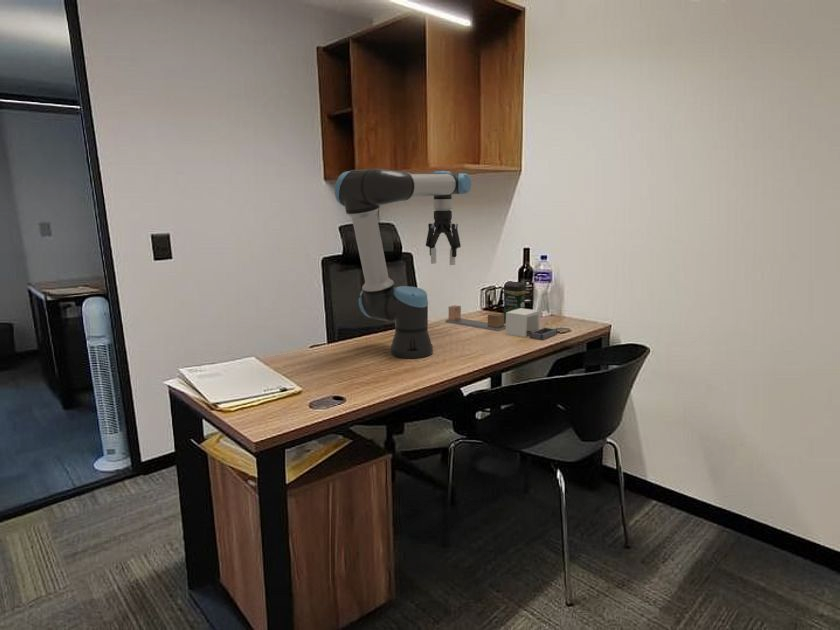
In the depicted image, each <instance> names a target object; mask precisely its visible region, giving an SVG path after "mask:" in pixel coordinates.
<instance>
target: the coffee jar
mask: <svg viewBox="0 0 840 630" xmlns="http://www.w3.org/2000/svg"><path fill="white" fill-rule="evenodd" d="M526 293H527V286H526V283H524V282H518V281H506V282H504V285H503V294H504V302H503V303H504V305H503V306H504V307H503V313H502V314H504V324H506V312H509V311H512V310H516V309H519V308H523V309H526V306H525V301H526V299H525V298H526Z"/></svg>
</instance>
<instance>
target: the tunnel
mask: <svg viewBox="0 0 840 630" xmlns="http://www.w3.org/2000/svg"><path fill="white" fill-rule="evenodd" d="M540 313H541V310H538V309H537V310H536V309H531V308H525V309H523V308H519V309H516V310H512V311H509V312H506V323H505V326H506V329H505V335H510V336H515V337H521V338H527V335H528V332H530V333H531V332H534V331H537V330H539V329H540V320H541V319H540V317H541V316H540V315H541V314H540Z"/></svg>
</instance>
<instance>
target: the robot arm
mask: <svg viewBox="0 0 840 630" xmlns="http://www.w3.org/2000/svg"><path fill="white" fill-rule="evenodd" d="M471 188H472V179H471V176H470V175H469V174H468V173H465V172H464V173H461V172H460V173H452V172H451V171H448V170H447V171H446V170H439V171H438V170H437V171H434V172H433V173H414V174H413V173H410V172H408V171H405V170H394V169H392V170H391V169H386V168H369V169H351V170H349V171H348V170H347V171H344V172H342V173H341V174H340V175H338V178H337V180H336V181H335V185H334V195H335V199H336V201H337V203H339V204H340V205H341V206H343V207H344V209H345V213H346V215H347V216H348V217H351V221H352V226H353V229H354V234H355V240H356V244H357V249H358V254H359V259H360V263H361V268H362V274H363V278H364V284H363V285H362V287H361V288H362V290H361V291H360V293H359V296H360V297H358V307H359V309H360V312H361V313H362V314H363V315H364V316H366V317H367V318H369V319H373V320H375V321H377V320H378V321H379V320H380V321H385V322H392V323H394V335H393V339H392V342H391V345H390V354H391V355H392V356H393V357H397V358H399V359H400V358H401V359H421V358H426V357H428V356H431V355H433V354H434V346H433V344H432V341H431V337H430V334H429V331H428V328H429V321H428V320H429V319H428V318H429V315H428V314H429V312H428V311H429V309H428V308H429V301H428V300H429V299H428V293H427V291H425V290H424V289H422V288H420V287H416V286H408V285H400V286H397V287H395V282H394V280H392V279H391V278H390V277H389V273H388V267H387V263H386V257H385V253H384V252H385V251H384V247H383V240H382V236H381V231H380V226H379V222H378V216H377V213H378V211H379V210H380V206H382V205H383V206H384V205H387V204H392V203H393V204H394V203H397V202H402V201H403V202H404V201H409V200H410V199H411V198H418V197H432V196H433V210H434V211H433V220H434V222H432V223H431V222H429V223H428V225H427V226H428V230H427V236H426V241H425V247H428V248H429V256H430V264H431V265H433V264H437V248H436V245H437V242H438V240H439V237H440V236H441V234H444V236H446V239H447V241H448V243H449V246H450V248H449V266H454V265H456V257H457V253H458V251H457V249H459V248H461V241H460V236H459V230H458V225H459V224H458V223H452V220H453V217H452V216H453V211H452V210H451V209H453V208H452V207H453V201H452V200H453V199H452V197H453V196H452V195H465V194H468V193H470V191H471Z"/></svg>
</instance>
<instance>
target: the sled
mask: <svg viewBox="0 0 840 630" xmlns="http://www.w3.org/2000/svg"><path fill="white" fill-rule="evenodd" d="M461 307H462V306H461V305H456V304H455V305H450V306H448V318H447V319H445V323H448V324H454V325H460V326H465V327H466V326H467V327H472V328H477V329H485V330H490V331H494V332H496V331H497V332H500V331H502V330H506V324H505V323H504V314H503V313H502V314H501V313H495V312H493V313H489V314H487V322H485V321H481V320H480V321H479V320H473V319H466V318H462V315H461V314H462V311H461V309H462V308H461Z"/></svg>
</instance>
